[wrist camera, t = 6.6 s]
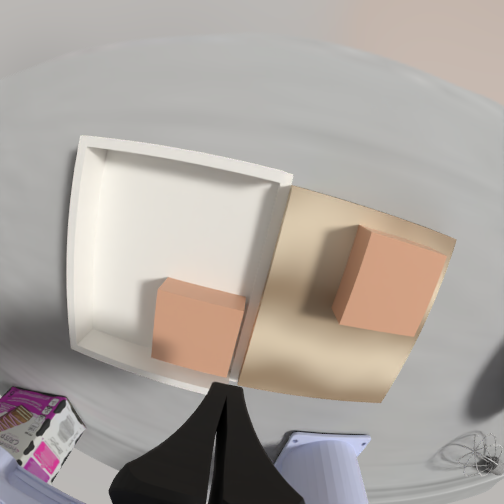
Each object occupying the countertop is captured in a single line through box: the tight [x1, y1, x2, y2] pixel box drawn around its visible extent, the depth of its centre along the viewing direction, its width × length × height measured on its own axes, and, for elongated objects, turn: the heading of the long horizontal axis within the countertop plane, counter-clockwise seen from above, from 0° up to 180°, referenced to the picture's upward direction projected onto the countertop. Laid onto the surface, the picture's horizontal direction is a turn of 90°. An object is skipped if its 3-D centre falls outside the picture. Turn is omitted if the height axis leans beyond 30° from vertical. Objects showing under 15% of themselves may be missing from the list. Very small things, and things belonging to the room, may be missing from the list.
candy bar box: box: [0, 387, 86, 485], centre depth 15 cm, size 11×5×16 cm, turn 100°
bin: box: [67, 135, 294, 395], centre depth 17 cm, size 14×12×3 cm
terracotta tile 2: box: [331, 225, 447, 337], centre depth 15 cm, size 5×5×2 cm
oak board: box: [238, 185, 456, 403], centre depth 17 cm, size 13×11×2 cm
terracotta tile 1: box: [151, 277, 246, 378], centre depth 17 cm, size 5×5×2 cm
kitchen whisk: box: [458, 433, 504, 476], centre depth 23 cm, size 6×34×6 cm, turn 48°
